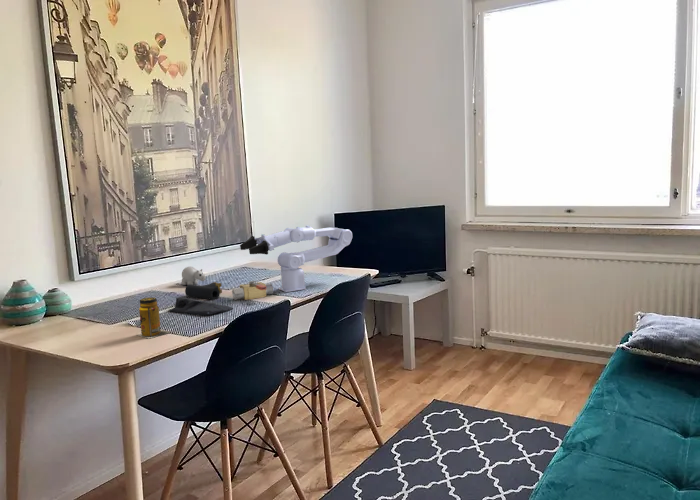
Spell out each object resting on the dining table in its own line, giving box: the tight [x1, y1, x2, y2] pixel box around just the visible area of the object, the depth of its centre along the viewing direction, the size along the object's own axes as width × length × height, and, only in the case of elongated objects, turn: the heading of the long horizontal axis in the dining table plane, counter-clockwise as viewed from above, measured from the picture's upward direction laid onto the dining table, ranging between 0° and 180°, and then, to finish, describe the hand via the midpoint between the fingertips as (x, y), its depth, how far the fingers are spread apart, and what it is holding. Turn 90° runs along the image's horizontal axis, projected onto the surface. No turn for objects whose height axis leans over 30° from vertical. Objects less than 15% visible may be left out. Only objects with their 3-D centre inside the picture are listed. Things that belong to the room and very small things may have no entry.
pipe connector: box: [184, 281, 223, 301], centre depth 249 cm, size 12×5×15 cm
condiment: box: [137, 296, 170, 339], centre depth 195 cm, size 7×8×12 cm
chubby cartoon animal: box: [181, 266, 207, 286], centre depth 271 cm, size 7×12×8 cm, turn 66°
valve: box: [231, 281, 274, 301], centre depth 244 cm, size 16×6×5 cm, turn 120°
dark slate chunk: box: [169, 297, 234, 316], centre depth 226 cm, size 15×22×5 cm
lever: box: [248, 280, 266, 290], centre depth 239 cm, size 13×3×1 cm, turn 30°
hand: (245, 249), depth 241 cm, fingers open, 7 cm apart
